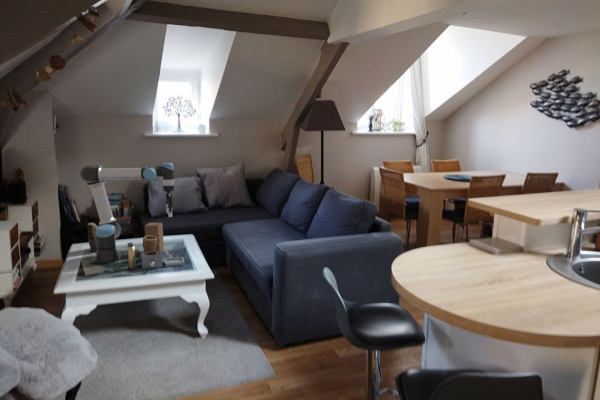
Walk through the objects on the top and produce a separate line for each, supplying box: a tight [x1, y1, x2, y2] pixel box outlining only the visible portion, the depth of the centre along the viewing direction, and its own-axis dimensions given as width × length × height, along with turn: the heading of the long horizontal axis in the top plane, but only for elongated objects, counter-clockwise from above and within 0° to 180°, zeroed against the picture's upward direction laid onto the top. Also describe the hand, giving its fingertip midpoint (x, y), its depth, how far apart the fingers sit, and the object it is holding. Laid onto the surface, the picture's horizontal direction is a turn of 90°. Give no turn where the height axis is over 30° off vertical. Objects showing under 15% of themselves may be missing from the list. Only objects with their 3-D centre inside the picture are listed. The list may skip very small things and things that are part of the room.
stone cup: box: [139, 235, 157, 260], centre depth 314 cm, size 15×12×15 cm
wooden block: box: [144, 222, 165, 252], centre depth 328 cm, size 10×10×20 cm
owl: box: [86, 221, 99, 253], centre depth 331 cm, size 13×13×20 cm
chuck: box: [141, 250, 163, 270], centre depth 292 cm, size 12×18×8 cm, turn 19°
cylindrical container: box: [126, 242, 137, 269], centre depth 291 cm, size 4×4×16 cm
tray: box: [163, 256, 185, 268], centre depth 300 cm, size 12×12×2 cm
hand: (169, 215), depth 322 cm, fingers open, 13 cm apart
